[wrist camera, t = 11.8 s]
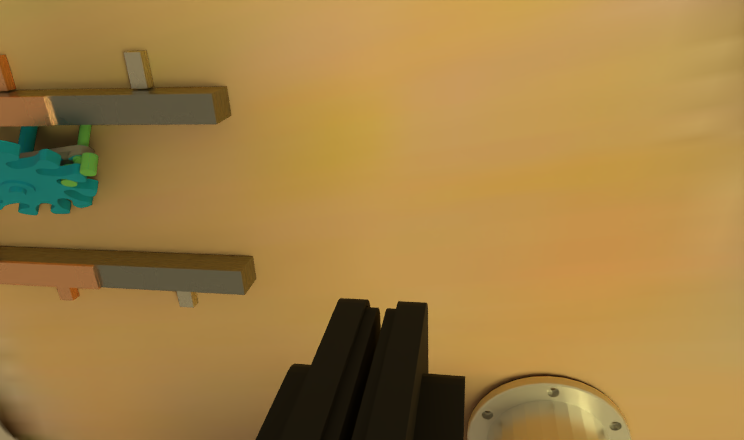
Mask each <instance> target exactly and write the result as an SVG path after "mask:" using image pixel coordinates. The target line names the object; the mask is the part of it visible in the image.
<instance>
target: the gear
mask: <svg viewBox="0 0 744 440" xmlns="http://www.w3.org/2000/svg"><path fill="white" fill-rule="evenodd" d="M37 129H38V126H21V131H20V136H19V141H18V144H16V143H13V142H8V141H2V140H0V210H1V209H2V208H3V207H4V206H6V205H8V204H13V203H20V204H19V210H18V212H19V213H23V214H28V215H37V214H38V210H39V204H41V203H49V204H52V206H51V212H52V213H55V214H67V213H70V208H71V202H70V201H69V200H71V201H72V202H73V205H74V206H76V207H79V208H84V207H88V206H90V205H92V200H93V196H95V195H96V193H97V189H98V181H97V180H94V179H87V176H95V175H96V173H97V165H98V156H97V155H96V154H95V151H94V150H93V149H92V148H90V147H89V140H90V132H91V125H80V128H79V135H78V142H77V145H73V146H66V147H59V148H53V149H42V150H39V151H34V146H35V140H36V135H37ZM60 165H64V166H60ZM66 199H69V200H66Z"/></svg>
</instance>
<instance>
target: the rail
mask: <svg viewBox="0 0 744 440" xmlns="http://www.w3.org/2000/svg"><path fill="white" fill-rule="evenodd" d="M124 57H125V61H126V66H127V70H128V75H129V79H130V84H131V88H109V89H52V90H13V89H16V87H15V84H14V80H13V77H12V74H11V71H10V67H9V64H8V61H7V58H6V55H0V126H53V125H165V124H218V123H220V122H221V121H223V120H225V119H226V118H228V117H230V116H231V110H230V104H229V97H228V91H227V86H223V87H166V88H150V87H153V86H154V85H153V80H152V75H151V70H150V65H149V61H148V56H147V51H146V50H144V51H128V52H124ZM255 280H256V274H255V268H254V261H253V256H234V255H209V254H183V253H158V252H133V251H108V250H83V249H58V248H33V247H8V246H0V284H12V285H30V286H49V287H57V290H58V293H59V296H60V299H61V300H74V299H76V298H77V297H78V296H79V293H78V289H77V288H86V289H99V288H101V287H107V288H126V289H144V290H163V291H177V295H178V300H179V304H180V307H193V308H194V307H195V305H196V304H197V303H198V299H197V294H196V292H201V293H220V294H239V295H245V294H246V292H247V291H248V289H249V288H250V287H251V285H252V284H253V283H254V281H255Z"/></svg>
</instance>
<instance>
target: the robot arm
mask: <svg viewBox="0 0 744 440" xmlns="http://www.w3.org/2000/svg"><path fill="white" fill-rule="evenodd" d="M464 398H465V376H451V375H438V374H428V306H427V303H420V302H401V301H399V302H398V304H397V307H396V309H390V308H387V309H386V312H385V316H384V320H383V324H382V327H381V325H380V311H379V308H371V307H370V303H369V301H368V300H363V299H344V298H341V299H339V300H338V302H337V305H336V307H335V310H334V312H333V314H332V317H331V319H330V321H329V324H328V326H327V329H326V331H325V333H324V336H323V338H322V340H321V343H320V345H319V348H318V350H317V352H316V355H315V357H314V359H313V362H312V364H311V365H305V364H293V365H292V366H291V367H290V369H289V370H288V372H287V374H286V376H285V378H284V380H283V383H282V385H281V387H280V389H279V391H278V393H277V395H276V397H275V400H274V402H273V404H272V406H271V408H270V410H269V412H268V414H267V417H266V419H265V421H264V423H263V425H262V427H261V429H260V431H259V433H258V436H257V438H256V440H463V436H464ZM467 440H632V439H631V435H630V430H629V428H628V425H627V422H626V420H625V417H624V416H623V414H622V413H621V411H620V410H619V408H618V406H617V405H616V404H614V403H613V402H612V401H611V400H610V399H609V398H608V397H607V396H606V395H604V394H603V393H601V392H600V391H598V390H597V389H595V388H593V387H591V386H588V385H586V384H584V383H582V382H579V381H575V380H571V379H567V378H561V377H552V376H537V377H528V378H523V379H517V380H514V381H512V382H509V383H506V384H503V385H501V386H500V387H498V388H496V389H494V390H493V391H491V392H490V393H488V394H487V395H486V396H485V397H484V398H483V399H481V400H480V402H479V403H478V404H477V406H476V407H475V408H474V410H473V412H472V414H471V416H470V419H469V423H468V429H467Z"/></svg>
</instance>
